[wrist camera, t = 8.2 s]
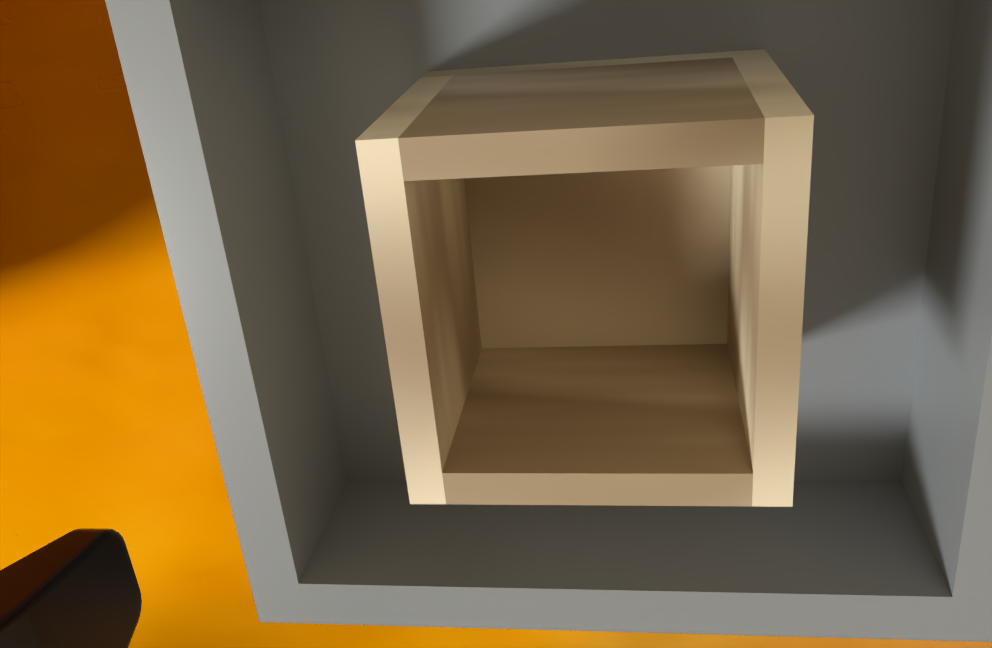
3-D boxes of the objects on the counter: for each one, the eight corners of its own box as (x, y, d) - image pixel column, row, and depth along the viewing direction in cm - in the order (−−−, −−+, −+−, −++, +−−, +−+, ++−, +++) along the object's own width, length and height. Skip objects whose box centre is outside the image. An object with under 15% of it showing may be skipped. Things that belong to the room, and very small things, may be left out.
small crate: (754, 356, 19) (792, 506, 14) (460, 361, 20) (409, 503, 15) (764, 48, 16) (814, 114, 12) (426, 71, 17) (354, 140, 13)
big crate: (936, 498, 21) (1005, 642, 17) (322, 495, 23) (259, 622, 19) (1033, -240, 15) (1174, -280, 11) (194, -150, 17) (66, -156, 13)
